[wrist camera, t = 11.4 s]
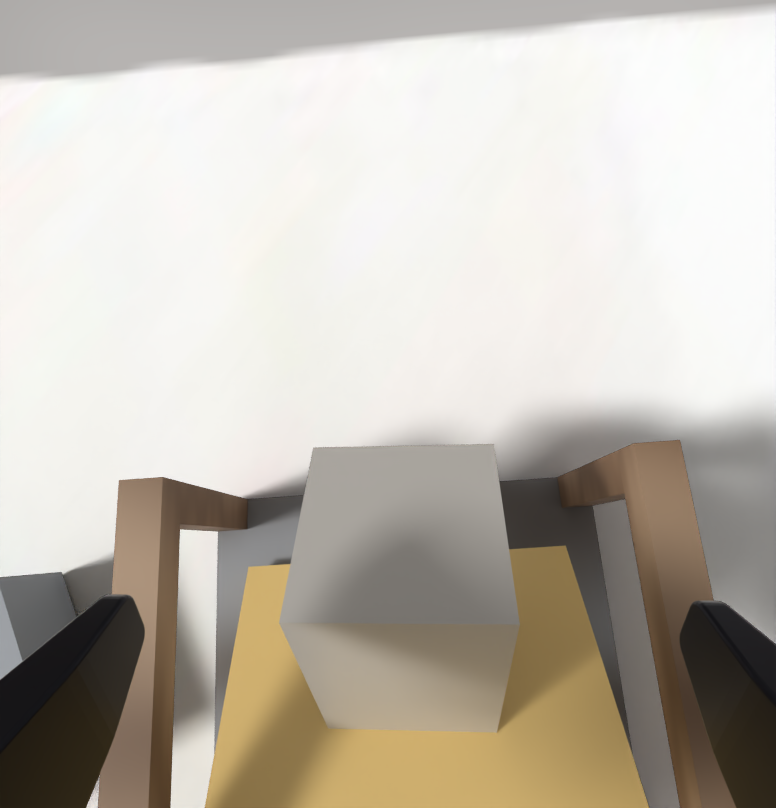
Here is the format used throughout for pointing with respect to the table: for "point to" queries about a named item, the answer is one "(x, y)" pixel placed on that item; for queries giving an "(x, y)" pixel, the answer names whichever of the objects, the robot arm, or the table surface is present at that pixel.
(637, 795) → the trapdoor
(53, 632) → the plinth
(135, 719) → the frame
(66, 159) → the table surface
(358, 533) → the grey upright block
